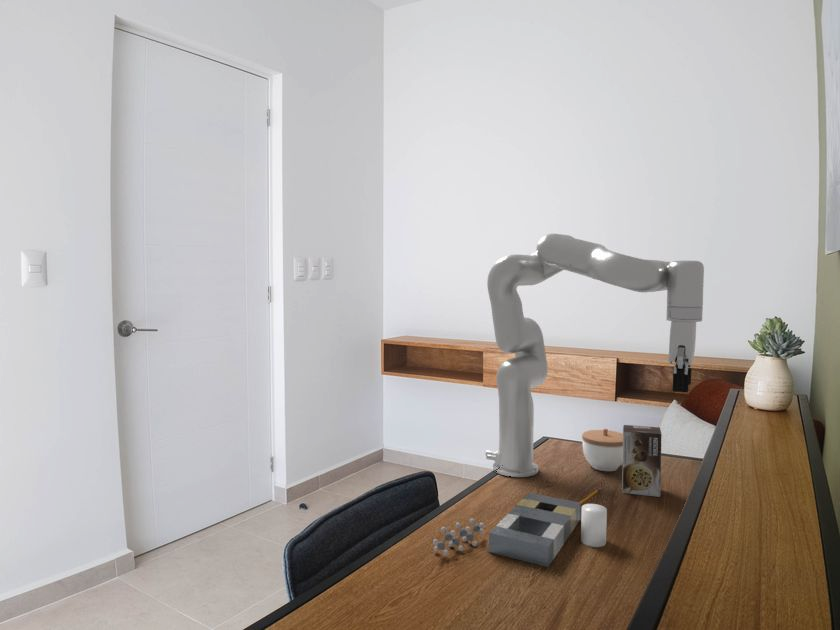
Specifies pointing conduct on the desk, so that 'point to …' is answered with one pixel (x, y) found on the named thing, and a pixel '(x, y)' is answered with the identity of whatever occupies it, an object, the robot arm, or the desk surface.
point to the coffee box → (641, 460)
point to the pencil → (590, 495)
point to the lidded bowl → (603, 449)
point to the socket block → (535, 529)
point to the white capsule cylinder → (593, 525)
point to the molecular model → (456, 539)
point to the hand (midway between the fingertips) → (681, 387)
